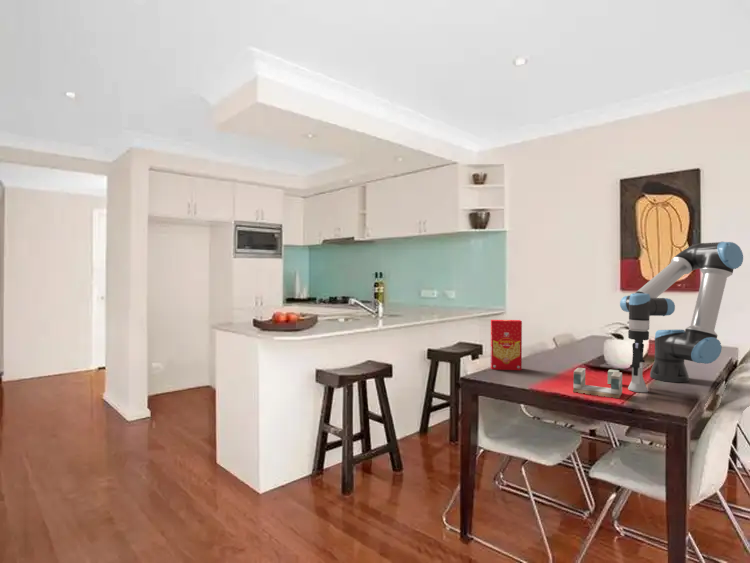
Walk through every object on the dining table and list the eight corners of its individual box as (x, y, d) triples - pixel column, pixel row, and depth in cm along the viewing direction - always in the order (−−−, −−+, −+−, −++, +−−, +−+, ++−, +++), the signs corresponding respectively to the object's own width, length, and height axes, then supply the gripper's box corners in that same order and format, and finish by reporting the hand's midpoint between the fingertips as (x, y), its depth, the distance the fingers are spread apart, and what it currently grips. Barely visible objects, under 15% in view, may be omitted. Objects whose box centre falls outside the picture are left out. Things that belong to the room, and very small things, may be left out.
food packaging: (491, 369, 232) (491, 320, 231) (490, 367, 237) (490, 319, 237) (521, 370, 230) (521, 321, 229) (519, 368, 235) (520, 320, 234)
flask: (624, 388, 194) (624, 365, 194) (640, 388, 195) (640, 365, 195) (635, 393, 187) (635, 369, 187) (651, 392, 188) (652, 368, 187)
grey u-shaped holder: (622, 393, 187) (622, 372, 187) (619, 398, 179) (619, 377, 179) (577, 386, 197) (578, 367, 197) (573, 392, 189) (573, 371, 189)
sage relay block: (619, 383, 203) (619, 370, 202) (617, 386, 199) (617, 372, 198) (609, 382, 205) (609, 369, 205) (607, 384, 201) (607, 371, 201)
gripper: (631, 326, 203) (630, 373, 203) (625, 332, 182) (623, 384, 183) (651, 328, 198) (649, 376, 199) (646, 333, 178) (645, 387, 178)
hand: (637, 380), depth 191 cm, fingers open, 13 cm apart
